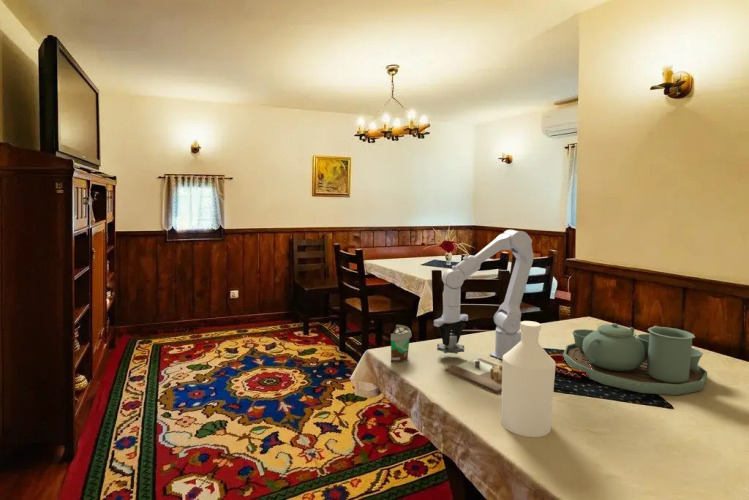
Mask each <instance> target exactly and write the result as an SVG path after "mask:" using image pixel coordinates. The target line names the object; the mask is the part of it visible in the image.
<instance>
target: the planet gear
mask: <svg viewBox="0 0 749 500" xmlns="http://www.w3.org/2000/svg"><path fill="white" fill-rule="evenodd" d="M436 350H437V351H440V352H442V353H444V354H455V355H457V354H458V353H465V345H464V344H460V343H457V335H456V334H454V333H452V332H451V333H450V341H449V346H446V345H444V344H443V342H442V343H437V346H436Z"/></svg>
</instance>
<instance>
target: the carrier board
mask: <svg viewBox="0 0 749 500" xmlns="http://www.w3.org/2000/svg"><path fill="white" fill-rule="evenodd" d="M502 365H503V364H496V363H494V362H491V361H489V360H485V359H483V358H482V357H481V358H476V359H473V360H469V361H465V362H462V363H459V364H456V365H451V366H449V367H445V372H447V373H449V374H452V375H453V376H455V377H458V378H461V379H462V380H465V381H467V382H470V383H472V384H474V385H476V386H477V387H480V388H482V389H485V390H487V391H490V392H491V393H493V394H496V395H497V394H498V395H499V394H502Z"/></svg>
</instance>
